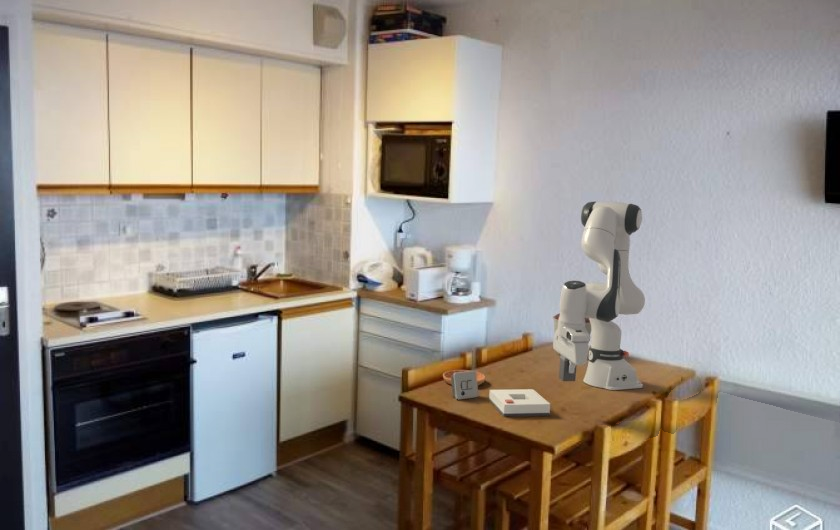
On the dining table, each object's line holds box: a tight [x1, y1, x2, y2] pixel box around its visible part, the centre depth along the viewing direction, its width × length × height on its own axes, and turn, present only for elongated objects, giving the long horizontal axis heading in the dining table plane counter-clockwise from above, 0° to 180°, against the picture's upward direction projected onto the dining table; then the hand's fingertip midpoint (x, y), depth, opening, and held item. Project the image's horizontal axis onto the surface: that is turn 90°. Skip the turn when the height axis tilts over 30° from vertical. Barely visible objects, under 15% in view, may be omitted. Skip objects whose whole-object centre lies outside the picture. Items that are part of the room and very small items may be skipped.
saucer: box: [442, 369, 486, 387], centre depth 275 cm, size 16×16×3 cm
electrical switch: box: [451, 370, 479, 400], centre depth 257 cm, size 9×5×9 cm, turn 121°
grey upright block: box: [558, 354, 578, 382], centre depth 244 cm, size 4×4×8 cm
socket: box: [488, 388, 551, 418], centre depth 248 cm, size 16×16×5 cm
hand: (567, 370), depth 244 cm, fingers closed on grey upright block, 4 cm apart
